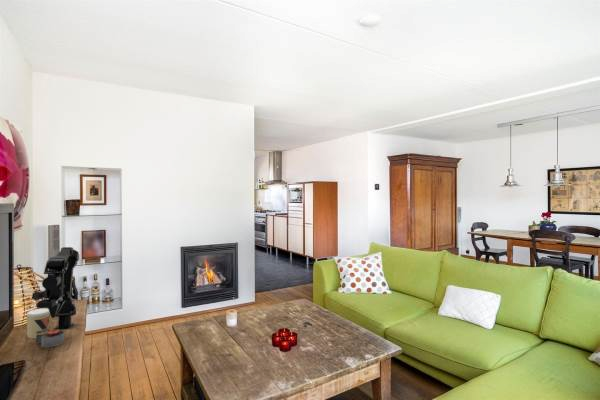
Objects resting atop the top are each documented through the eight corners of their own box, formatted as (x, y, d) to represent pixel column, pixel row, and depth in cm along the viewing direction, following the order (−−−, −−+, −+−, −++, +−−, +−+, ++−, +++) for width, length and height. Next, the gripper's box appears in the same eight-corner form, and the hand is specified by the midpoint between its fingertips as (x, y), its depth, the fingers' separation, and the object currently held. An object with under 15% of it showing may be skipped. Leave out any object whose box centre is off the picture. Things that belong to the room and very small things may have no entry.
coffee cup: (35, 340, 157) (37, 315, 157) (20, 337, 159) (21, 313, 159) (53, 332, 166) (55, 309, 166) (39, 330, 168) (40, 307, 168)
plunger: (49, 339, 156) (50, 328, 156) (60, 339, 157) (60, 328, 157) (44, 343, 151) (45, 332, 152) (55, 343, 152) (55, 332, 152)
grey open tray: (41, 340, 157) (42, 331, 157) (66, 339, 159) (67, 330, 159) (31, 348, 149) (31, 338, 149) (57, 347, 151) (58, 337, 151)
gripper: (47, 279, 162) (45, 311, 162) (24, 289, 144) (21, 324, 144) (72, 279, 164) (70, 310, 164) (52, 289, 146) (50, 324, 146)
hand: (53, 317), depth 154 cm, fingers closed
